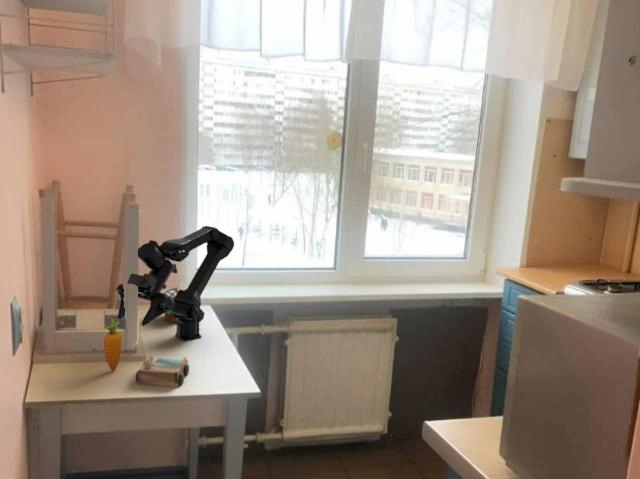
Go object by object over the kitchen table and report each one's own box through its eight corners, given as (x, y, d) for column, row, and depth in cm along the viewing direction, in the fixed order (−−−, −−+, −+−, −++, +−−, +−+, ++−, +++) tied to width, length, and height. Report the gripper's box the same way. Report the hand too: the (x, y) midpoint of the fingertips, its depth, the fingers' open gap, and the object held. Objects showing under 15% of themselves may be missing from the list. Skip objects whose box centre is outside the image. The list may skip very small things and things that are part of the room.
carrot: (116, 375, 166) (116, 324, 163) (100, 373, 167) (99, 322, 164) (125, 368, 171) (125, 319, 168) (110, 366, 172) (109, 316, 169)
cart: (152, 359, 178) (152, 346, 177) (194, 362, 178) (194, 349, 177) (134, 384, 162) (134, 370, 161) (180, 387, 162) (181, 373, 161)
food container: (159, 313, 217) (159, 287, 215) (176, 313, 219) (177, 286, 217) (162, 325, 206) (163, 298, 203) (181, 324, 208) (181, 297, 206)
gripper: (120, 257, 177) (91, 301, 170) (168, 267, 169) (140, 315, 162) (139, 277, 186) (112, 320, 179) (186, 288, 178) (160, 334, 170)
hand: (130, 321), depth 172 cm, fingers open, 9 cm apart
